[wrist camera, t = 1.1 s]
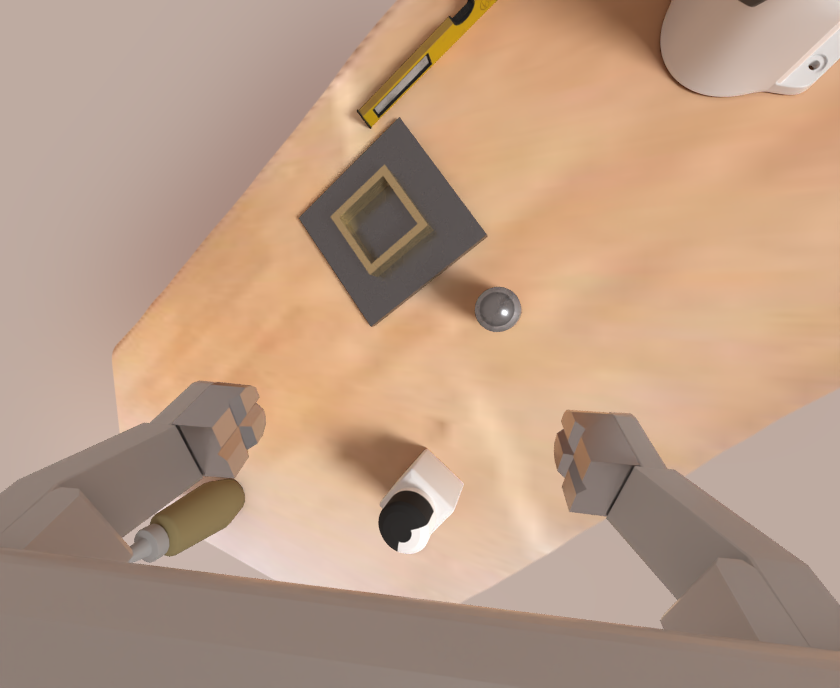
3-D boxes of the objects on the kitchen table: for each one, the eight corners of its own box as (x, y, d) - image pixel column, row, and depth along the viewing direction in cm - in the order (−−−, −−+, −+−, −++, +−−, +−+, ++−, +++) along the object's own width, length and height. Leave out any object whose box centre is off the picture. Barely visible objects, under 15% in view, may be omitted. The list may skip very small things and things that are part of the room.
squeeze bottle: (208, 483, 61) (84, 547, 44) (236, 464, 59) (118, 524, 42) (228, 523, 60) (111, 604, 43) (258, 506, 58) (146, 584, 41)
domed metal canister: (507, 284, 43) (502, 276, 35) (529, 315, 43) (530, 314, 34) (476, 307, 45) (464, 304, 36) (497, 337, 44) (490, 341, 36)
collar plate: (402, 121, 46) (392, 105, 43) (487, 236, 44) (484, 229, 40) (302, 219, 52) (287, 213, 48) (373, 326, 49) (362, 326, 46)
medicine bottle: (397, 479, 50) (359, 527, 38) (427, 446, 48) (396, 486, 37) (433, 515, 49) (405, 576, 37) (465, 483, 47) (445, 536, 35)
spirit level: (582, -98, 38) (586, -131, 35) (589, -90, 38) (594, -123, 35) (366, 122, 48) (356, 110, 45) (371, 129, 48) (361, 117, 45)
